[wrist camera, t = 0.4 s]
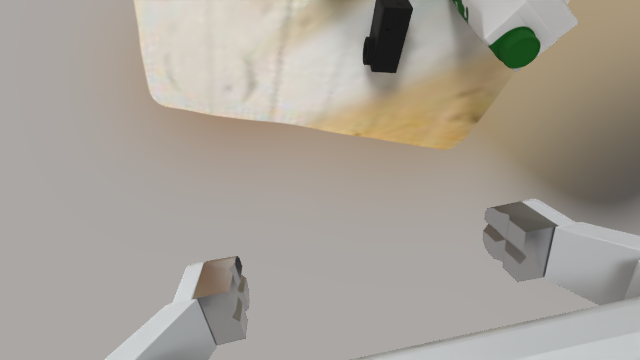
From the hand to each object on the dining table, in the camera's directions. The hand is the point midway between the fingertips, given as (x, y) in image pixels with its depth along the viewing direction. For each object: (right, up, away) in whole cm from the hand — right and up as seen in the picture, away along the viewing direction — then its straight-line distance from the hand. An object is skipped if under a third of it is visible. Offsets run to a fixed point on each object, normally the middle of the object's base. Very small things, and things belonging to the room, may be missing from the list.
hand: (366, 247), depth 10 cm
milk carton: (+24, +34, +39) cm, 57 cm away
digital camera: (+9, +29, +44) cm, 54 cm away
